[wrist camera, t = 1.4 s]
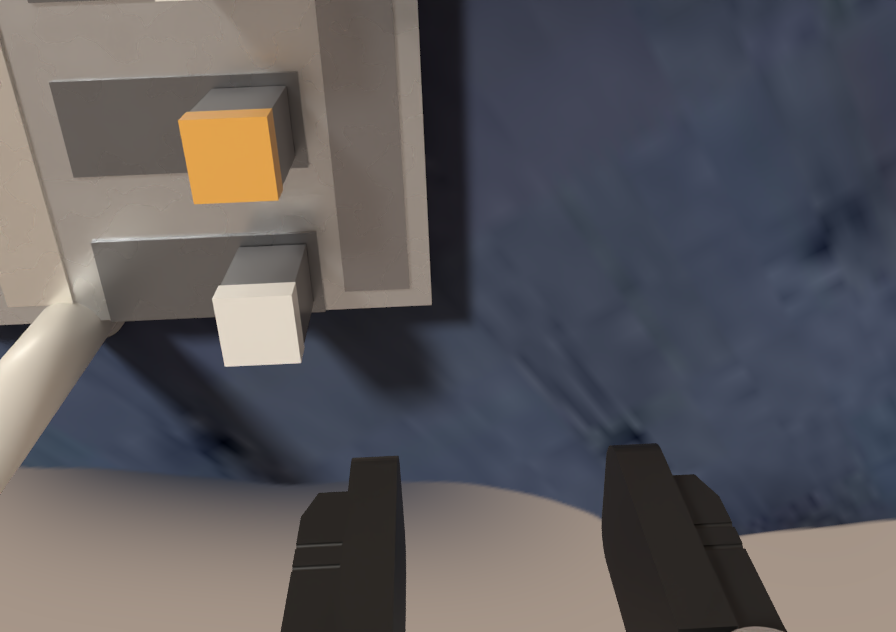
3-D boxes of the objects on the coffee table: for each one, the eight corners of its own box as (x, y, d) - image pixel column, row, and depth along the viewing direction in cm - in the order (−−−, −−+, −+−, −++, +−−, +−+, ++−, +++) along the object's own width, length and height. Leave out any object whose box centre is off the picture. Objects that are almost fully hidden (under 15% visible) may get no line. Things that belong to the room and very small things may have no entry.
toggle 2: (307, 243, 36) (291, 295, 32) (314, 304, 38) (301, 362, 33) (237, 246, 36) (211, 298, 32) (247, 307, 38) (224, 366, 33)
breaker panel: (411, -129, 32) (411, -130, 30) (430, 277, 41) (432, 306, 38) (-196, -107, 32) (-255, -105, 29) (-49, 300, 40) (-84, 330, 38)
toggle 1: (287, 84, 33) (266, 116, 28) (296, 158, 34) (278, 200, 30) (210, 87, 33) (178, 120, 28) (223, 161, 34) (194, 204, 30)
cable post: (121, 266, 40) (-9, 436, 28) (137, 330, 42) (21, 517, 29) (48, 269, 40) (-115, 441, 28) (67, 333, 42) (-79, 522, 29)
